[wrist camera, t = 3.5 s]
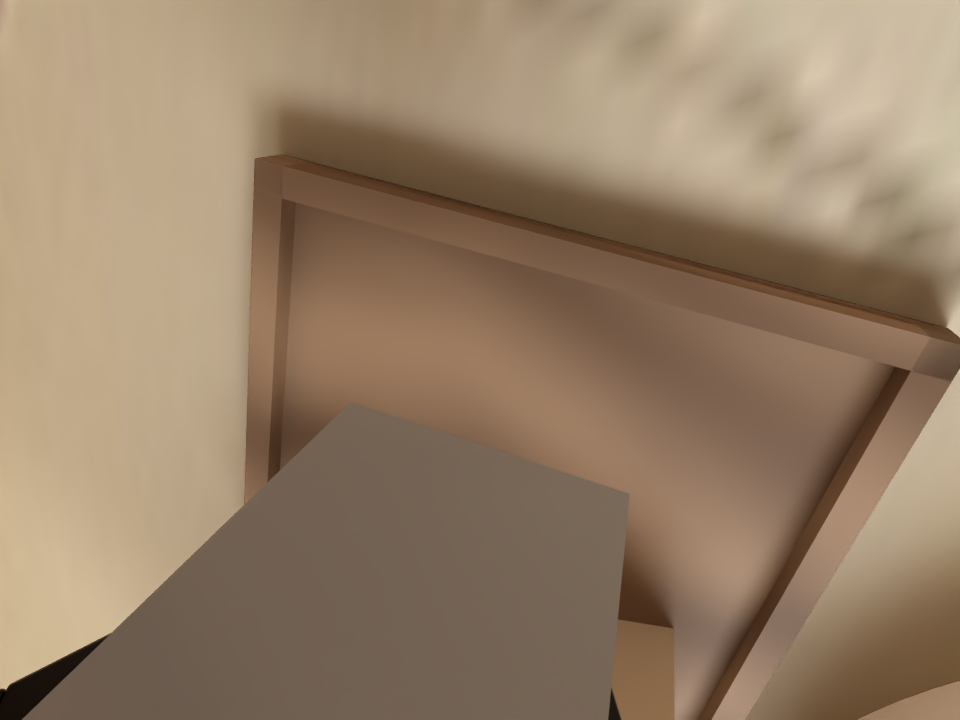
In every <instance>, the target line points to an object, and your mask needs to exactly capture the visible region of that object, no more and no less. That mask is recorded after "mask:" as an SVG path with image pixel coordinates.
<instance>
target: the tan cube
mask: <svg viewBox="0 0 960 720" xmlns="http://www.w3.org/2000/svg"><path fill="white" fill-rule="evenodd" d="M611 687H612V690H613V693H614V697H615V700H616V703H617V706H618V710H619V713H620V716H621V719H622V720H675V705H674V628H668V627H661V626H655V625H649V624H643V623H637V622H631V621H625V620H618V622H617V633H616V643H615V653H614V664H613V674H612V685H611Z"/></svg>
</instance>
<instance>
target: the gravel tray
mask: <svg viewBox="0 0 960 720" xmlns="http://www.w3.org/2000/svg"><path fill="white" fill-rule="evenodd" d="M959 369H960V338H959V337H958V336H957V335H956V334H954V333H953V332H952V331H951V330H950V329H948V328H945V327H941V326H937V325H933V324H929V323H925V322H922V321H918V320H914V319H910V318H906V317H902V316H899V315H895V314H891V313H887V312H883V311H879V310H876V309H872V308H868V307H864V306H860V305H856V304H853V303H849V302H845V301H841V300H837V299H833V298H830V297H826V296H822V295H818V294H814V293H810V292H807V291H803V290H799V289H795V288H791V287H787V286H784V285H780V284H776V283H772V282H768V281H764V280H761V279H757V278H753V277H749V276H745V275H741V274H738V273H734V272H730V271H726V270H722V269H718V268H715V267H711V266H707V265H703V264H699V263H695V262H691V261H688V260H684V259H680V258H676V257H672V256H668V255H665V254H661V253H657V252H653V251H649V250H645V249H642V248H638V247H634V246H630V245H626V244H622V243H619V242H615V241H611V240H607V239H603V238H599V237H596V236H592V235H588V234H584V233H580V232H576V231H573V230H569V229H565V228H561V227H557V226H553V225H550V224H546V223H542V222H538V221H534V220H530V219H527V218H523V217H519V216H515V215H511V214H507V213H504V212H500V211H496V210H492V209H488V208H484V207H481V206H477V205H473V204H469V203H465V202H461V201H458V200H454V199H450V198H446V197H442V196H438V195H435V194H431V193H427V192H423V191H419V190H415V189H412V188H408V187H404V186H400V185H396V184H392V183H389V182H385V181H381V180H377V179H373V178H369V177H366V176H362V175H358V174H354V173H350V172H346V171H343V170H339V169H335V168H331V167H327V166H323V165H320V164H316V163H312V162H308V161H304V160H300V159H297V158H293V157H289V156H285V155H276V156H269V157H262V158H256V159H255V167H254V200H253V233H252V267H251V300H250V333H249V366H248V399H247V432H246V466H245V499H244V505H245V504H246V503H247V502H248V501H249V500H250V499H251V498H252V497H253V496H254V495H255V494H256V493H257V492H258V491H259V490H260V489H261V488H262V487H263V486H265V485H266V484H267V483H268V482H269V481H270V480H271V479H272V478H273V477H274V476H275V475H276V474H277V473H278V472H279V471H280V470H281V469H282V468H283V467H284V466H285V465H286V464H287V463H288V462H289V461H290V460H291V459H292V458H294V457H295V456H296V455H297V454H298V453H299V452H300V451H301V450H302V449H303V448H304V447H305V446H306V445H307V444H308V443H309V442H310V441H311V440H312V439H313V438H314V437H315V436H316V435H317V434H318V433H319V432H320V431H322V430H323V429H324V428H325V427H326V426H327V425H328V424H329V423H330V422H331V421H332V420H333V419H334V418H335V417H336V416H337V415H338V414H339V413H340V412H341V411H342V410H343V409H344V408H345V407H346V406H347V405H348V404H349V403H351V402H352V403H355V404H358V405H361V406H364V407H367V408H370V409H373V410H376V411H380V412H383V413H386V414H389V415H392V416H395V417H398V418H401V419H404V420H407V421H410V422H413V423H416V424H419V425H422V426H425V427H428V428H431V429H434V430H437V431H440V432H443V433H446V434H449V435H452V436H455V437H459V438H462V439H465V440H468V441H471V442H474V443H477V444H480V445H483V446H486V447H489V448H492V449H495V450H498V451H501V452H504V453H507V454H510V455H513V456H516V457H519V458H522V459H525V460H528V461H531V462H534V463H538V464H541V465H544V466H547V467H550V468H553V469H556V470H559V471H562V472H565V473H568V474H571V475H574V476H577V477H580V478H583V479H586V480H589V481H592V482H595V483H598V484H601V485H604V486H607V487H610V488H613V489H616V490H620V491H623V492H626V493H629V494H630V498H629V508H628V518H627V529H626V539H625V550H624V560H623V570H622V581H621V591H620V602H619V612H618V620H625V621H631V622H637V623H643V624H649V625H655V626H661V627H668V628H674V705H675V720H745V719H746V718H747V716H748V714H749V713H750V711H751V709H752V708H753V706H754V705H755V703H756V701H757V700H758V698H759V696H760V695H761V693H762V691H763V690H764V688H765V687H766V685H767V683H768V682H769V680H770V678H771V677H772V675H773V673H774V672H775V670H776V669H777V667H778V665H779V664H780V662H781V660H782V659H783V657H784V655H785V654H786V652H787V651H788V649H789V647H790V646H791V644H792V642H793V641H794V639H795V637H796V636H797V634H798V632H799V631H800V629H801V628H802V626H803V624H804V623H805V621H806V619H807V618H808V616H809V614H810V613H811V611H812V610H813V608H814V606H815V605H816V603H817V601H818V600H819V598H820V596H821V595H822V593H823V592H824V590H825V588H826V587H827V585H828V583H829V582H830V580H831V578H832V577H833V575H834V574H835V572H836V570H837V569H838V567H839V565H840V564H841V562H842V560H843V559H844V557H845V556H846V554H847V552H848V551H849V549H850V547H851V546H852V544H853V542H854V541H855V539H856V538H857V536H858V534H859V533H860V531H861V529H862V528H863V526H864V524H865V523H866V521H867V520H868V518H869V516H870V515H871V513H872V511H873V510H874V508H875V506H876V505H877V503H878V501H879V500H880V498H881V497H882V495H883V493H884V492H885V490H886V488H887V487H888V485H889V483H890V482H891V480H892V479H893V477H894V475H895V474H896V472H897V470H898V469H899V467H900V465H901V464H902V462H903V461H904V459H905V457H906V456H907V454H908V452H909V451H910V449H911V447H912V446H913V444H914V443H915V441H916V439H917V438H918V436H919V434H920V433H921V431H922V429H923V428H924V426H925V425H926V423H927V421H928V420H929V418H930V416H931V415H932V413H933V411H934V410H935V408H936V407H937V405H938V403H939V402H940V400H941V398H942V397H943V395H944V393H945V392H946V390H947V388H948V387H949V385H950V384H951V382H952V380H953V379H954V377H955V375H956V374H957V372H958V370H959Z"/></svg>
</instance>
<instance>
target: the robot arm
mask: <svg viewBox="0 0 960 720" xmlns="http://www.w3.org/2000/svg"><path fill="white" fill-rule="evenodd" d="M110 634H111V633H110ZM110 634H108V635H106V636H104V637H102V638H100V639H98V640H96V641H94V642H92V643H91V644H89V645H87V646H85V647H83V648H81V649H79V650H77V651H75V652H73V653H71V654H69V655H67V656H65V657H63V658H61V659H59V660H57V661H55V662H53V663H51V664H49V665H47V666H45V667H43V668H41V669H39V670H37V671H35V672H33V673H31V674H29V675H27V676H25V677H23V678H21V679H20V680H18V681H16V682H14V683H12V684H10V685H9V686H8V688H7V690H5V689H0V720H22V719H23V718H24V717H25V716H26V715H27V714H28V713H29V712H30V711H31V710H32V709H33V708H34V707H35V706H37V705H38V704H39V703H40V702H41V701H42V700H43V699H44V698H45V697H46V696H47V695H48V694H49V693H50V692H51V691H52V690H53V689H54V688H55V687H56V686H57V685H58V684H59V683H60V682H61V681H62V680H63V679H64V678H66V677H67V676H68V675H69V674H70V673H71V672H72V671H73V670H74V669H75V668H76V667H77V666H78V665H79V664H80V663H81V662H82V661H83V660H84V659H85V658H86V657H87V656H88V655H89V654H90V653H91V652H92V651H94V650H95V649H96V648H97V647H98V646H99V645H100V644H101V643H102V642H103V641H104V640H105V639H106V638H107V637H108V636H109V635H110ZM608 720H622V719H621V716H620V713H619V710H618V706H617V703H616V700H615V697H614V693H613V690H612V687H611V695H610V705H609V716H608Z"/></svg>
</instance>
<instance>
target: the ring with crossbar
mask: <svg viewBox="0 0 960 720" xmlns="http://www.w3.org/2000/svg"><path fill="white" fill-rule="evenodd" d="M858 720H960V681H957V682H954V683H951V684H947V685H944V686H940V687H937V688H934V689H931V690H928V691H925V692H923V693H920V694H917V695H914V696H911V697H909V698H906V699H903V700H900V701H898V702H896V703H893V704H891V705H888V706H886V707H884V708H881V709H879V710H877V711H874V712H872V713H870V714H868V715H866V716H864V717H862V718H860V719H858Z"/></svg>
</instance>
